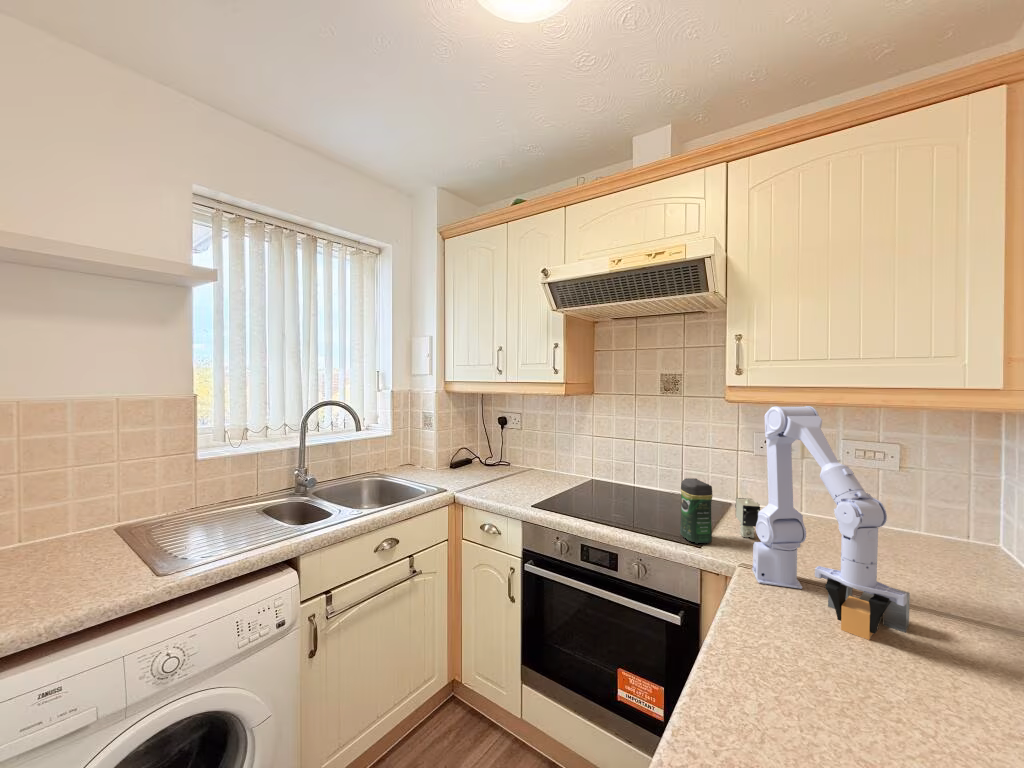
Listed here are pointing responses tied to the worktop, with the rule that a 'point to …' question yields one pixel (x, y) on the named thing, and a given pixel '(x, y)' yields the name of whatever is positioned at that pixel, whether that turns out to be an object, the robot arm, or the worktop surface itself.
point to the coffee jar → (696, 511)
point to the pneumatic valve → (747, 515)
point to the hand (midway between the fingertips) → (857, 624)
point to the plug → (857, 616)
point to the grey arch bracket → (889, 612)
